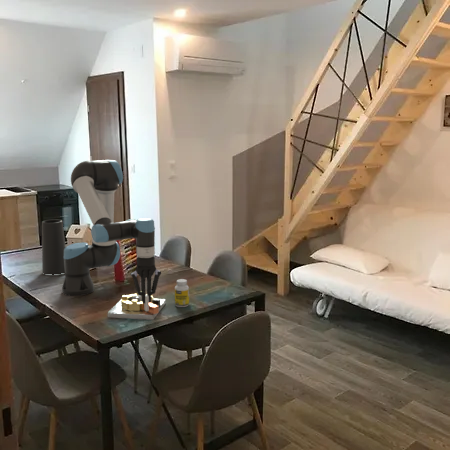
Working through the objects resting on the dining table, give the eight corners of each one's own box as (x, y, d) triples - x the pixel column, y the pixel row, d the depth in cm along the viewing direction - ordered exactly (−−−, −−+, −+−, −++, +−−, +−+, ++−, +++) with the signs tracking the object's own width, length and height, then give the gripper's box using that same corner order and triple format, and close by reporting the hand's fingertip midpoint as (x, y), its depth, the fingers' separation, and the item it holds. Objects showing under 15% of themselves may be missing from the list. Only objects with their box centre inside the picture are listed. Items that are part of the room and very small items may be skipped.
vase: (73, 271, 286) (70, 220, 280) (53, 277, 275) (50, 224, 269) (57, 267, 293) (53, 218, 287) (37, 273, 282) (33, 221, 276)
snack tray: (116, 304, 226) (115, 295, 226) (141, 297, 235) (141, 289, 235) (143, 317, 212) (142, 307, 211) (168, 309, 221) (168, 300, 220)
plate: (107, 317, 218) (107, 303, 217) (123, 301, 238) (123, 288, 237) (154, 319, 215) (154, 306, 214) (166, 303, 235) (166, 290, 234)
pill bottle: (172, 306, 231) (171, 281, 229) (178, 301, 237) (178, 277, 235) (185, 308, 229) (185, 283, 226) (191, 303, 235) (191, 279, 232)
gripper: (132, 259, 207) (133, 314, 211) (163, 256, 212) (163, 311, 216) (128, 255, 214) (129, 309, 218) (158, 252, 219) (158, 305, 223)
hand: (146, 310), depth 217 cm, fingers closed
